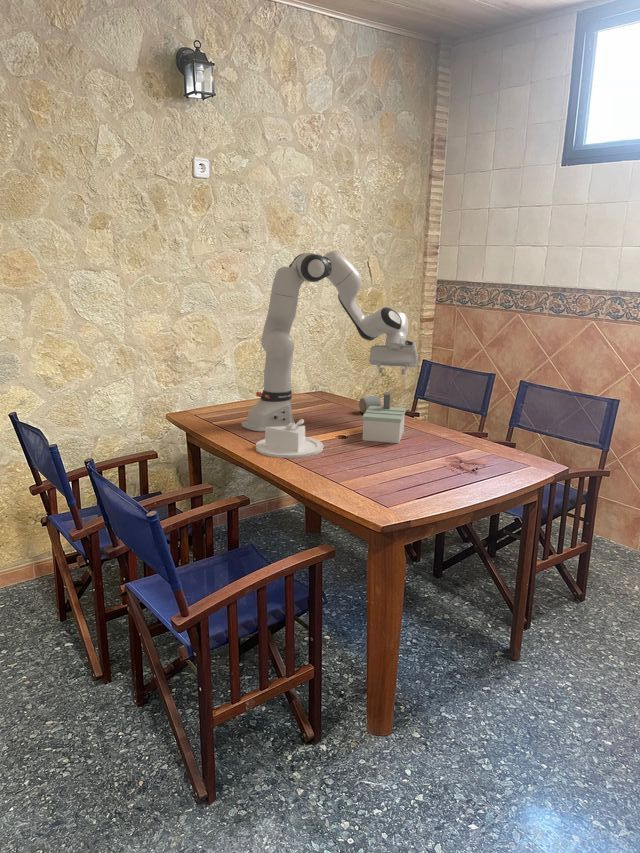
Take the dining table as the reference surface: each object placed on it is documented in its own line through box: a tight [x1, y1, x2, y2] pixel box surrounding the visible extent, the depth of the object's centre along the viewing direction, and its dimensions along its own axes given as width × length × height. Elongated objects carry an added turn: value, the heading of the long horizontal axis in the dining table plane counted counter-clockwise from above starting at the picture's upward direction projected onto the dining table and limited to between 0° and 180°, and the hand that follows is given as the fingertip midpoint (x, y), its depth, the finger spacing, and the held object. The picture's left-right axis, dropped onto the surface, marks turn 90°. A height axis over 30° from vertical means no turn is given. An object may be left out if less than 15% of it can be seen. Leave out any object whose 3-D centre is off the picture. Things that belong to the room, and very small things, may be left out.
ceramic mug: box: [358, 395, 382, 414], centre depth 283 cm, size 11×8×8 cm
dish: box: [255, 418, 325, 459], centre depth 230 cm, size 25×25×11 cm
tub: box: [362, 413, 406, 444], centre depth 248 cm, size 18×14×8 cm
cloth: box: [440, 455, 489, 474], centre depth 214 cm, size 20×22×2 cm
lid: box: [361, 392, 407, 423], centre depth 246 cm, size 19×15×9 cm
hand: (391, 373), depth 261 cm, fingers open, 8 cm apart
